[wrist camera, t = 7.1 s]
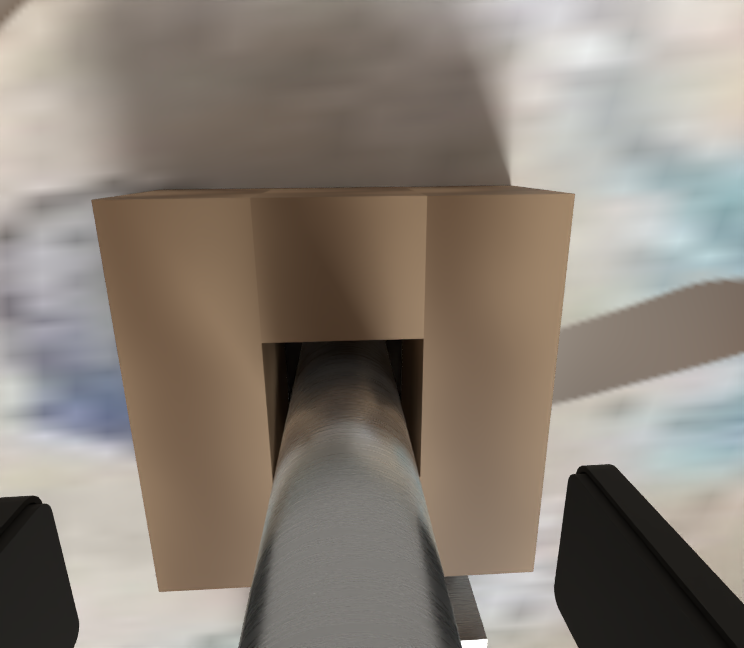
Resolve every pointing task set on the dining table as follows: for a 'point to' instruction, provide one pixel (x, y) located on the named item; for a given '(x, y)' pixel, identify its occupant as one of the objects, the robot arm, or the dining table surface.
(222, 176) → the dining table surface
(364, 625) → the peg
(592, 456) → the dining table surface
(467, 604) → the housing
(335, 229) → the socket block
